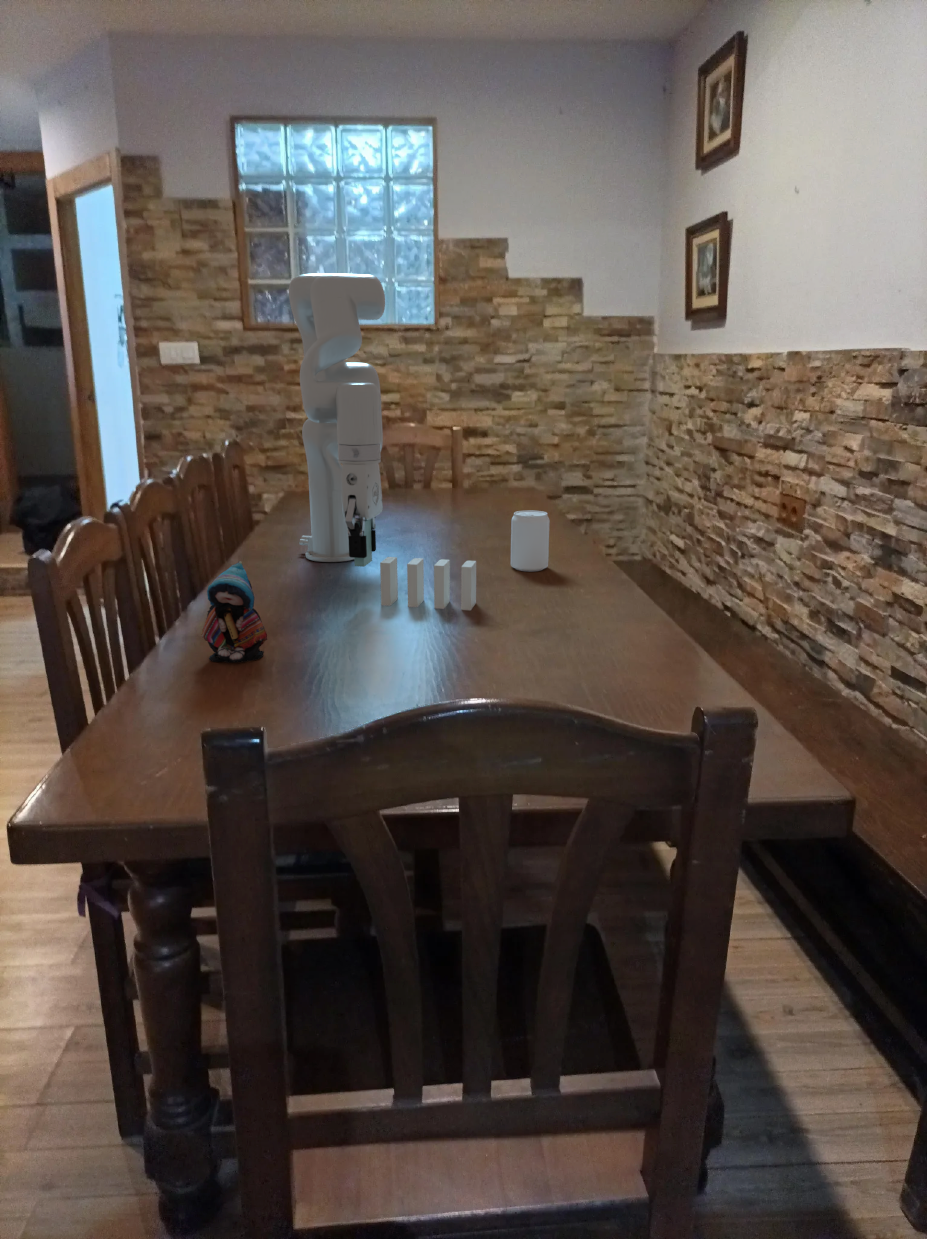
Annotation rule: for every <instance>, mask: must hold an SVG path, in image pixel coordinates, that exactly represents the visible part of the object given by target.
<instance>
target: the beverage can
mask: <svg viewBox="0 0 927 1239" xmlns="http://www.w3.org/2000/svg"><path fill="white" fill-rule="evenodd" d="M550 522H551V521H550V518H549V516H548V512H547V511H543V510H542V511H541V510H532V509H531V510H518V511H515V512H513V516H512V517H511V523H510V524H511V529H510V531H511V532H510V534H511V535H510V567H512V568H513V569H515V570H517V571H520V572H530V573H531V572H540V571H543V570H545V569H547V568H548V566H549V555H550V554H549V553H550V552H549V548H550V547H549V546H550Z"/></svg>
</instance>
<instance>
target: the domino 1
mask: <svg viewBox="0 0 927 1239" xmlns="http://www.w3.org/2000/svg"><path fill="white" fill-rule="evenodd" d="M356 523H358V524H359V527H360V522H356ZM364 536H366V543H367V557H365V558H354V567H360V568H361V567H366V566H367V565H369V564H371V562H373V552H372V545H371V519H370V520H366V519H365V530H364Z"/></svg>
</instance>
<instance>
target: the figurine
mask: <svg viewBox="0 0 927 1239" xmlns="http://www.w3.org/2000/svg"><path fill="white" fill-rule="evenodd" d="M206 595H207V600H208V601H209V603H210V607H209V610H207V614H206V620H205V621H204V624H203V628H202V632H201V634H200V635H201V637H202V638H203V639H204V641H206V642H207V643H208V645H209V647H210V649H211V650H212V652H214V653H213V654H211V655H210V656H209V657H208V660H209V661H210V662H213V663H215V662H216V663H220V662H221V663H247V662H250V661H256V660H259V659H262V658H263V657H264V653H265V651H264V650H260V647H261V646H263V644H264V643H265V642H266V641H267V640H268V633H267V631H266V628H265V626H264V624H263V622H262V619H261V617H260V615H259V613H258V611H257V610H256V609H255V608H254V607H255V605H254V604H255V593H254V591H253V587H252V583H251V581H250V580H249V577H248V574H247V571H246V570H245V568H244V565H243V562H242V561H240V560H238V562H237V563H234V564H232V565H230V567H229V568H227V569H226V570H224V571H223V572H222V573H220V574H219V575H218V576H216V578H215V579H213V581H212V583H211V584H209V585H208V587H207V589H206Z"/></svg>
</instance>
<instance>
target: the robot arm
mask: <svg viewBox="0 0 927 1239" xmlns="http://www.w3.org/2000/svg"><path fill="white" fill-rule="evenodd" d="M288 288H289V289H288V297H289V305H290V308H291V313H292V316H293V319H294V321H295V325H296V327H297V328H298V332H299V334H300V337H301V340H302V341H301V342H302V348H303V359H302V360H301V364H300V368H299V370H300V371H299V385H300V392H301V400H302V406H303V410H304V414H305V415H306V417H307V419H306V420H305V421H304V423H303V425H302V429H301V431H302V432H301V434H302V435H301V436H302V442H303V447H304V452H305V458H306V464H307V474H308V477H307V478H308V490H309V491H308V492H309V510H310V512H309V514H310V532H311V535H301V537H300V539H299V542H298V544H299V545H300V546H307V550H305V558H306V559H307V560H310V561H314V562H319V563H320V562H322V563H338V562H347V561H348V562H349V561H353V560H354V558H365V557H367V543H366V536H364V530H365V519H366V520H370V519H371V545H372V553H373V552H374V553H375V551H377V541H376V540H377V538H376V536H377V533H376V532H377V531H376V517H377V516H379V515H380V514H381V513H382V512H383V510H384V508H383V492H382V480H381V470H380V465H379V464H380V463H381V462H382V460H381V459H382V458H381V452H382V449H383V444H384V440H383V439H384V434H383V416H382V395H381V384H380V377H379V375H378V374H379V373H378V371H377V370H376V368H375V367H374V366H373V365H372V364H370V363H367V362H366V363H365V362H346V361H345V360H348V359H349V358H352V357H353V356H354V355H355V354H357V353H358V351H359V350H360V349H361V347H362V344H363V336H362V331H361V326H360V321H361V320H363V321H365V320H367V321H371V320H372V321H375V320H376V321H377V320H380V319H381V317H382V316H383V315H384V312H385V308H386V294H385V290H384V287H383V285H382V283H381V280H380V279H379V277H377V276H376V275H374V274H362V273H361V274H360V273H359V274H357V273H320V272H319V273H303V274H300V275H296V276H295V277H294V278H292V280H290V283H289V287H288ZM359 320H360V321H359ZM356 517H357V518H356ZM356 522H360V527H359V524H358V523H356Z"/></svg>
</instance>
